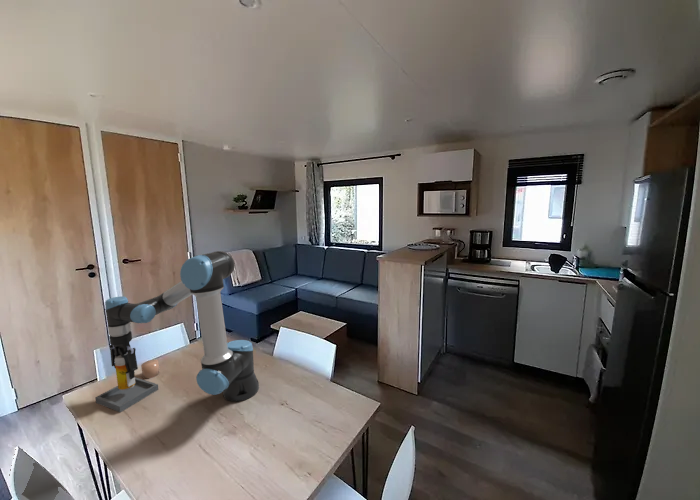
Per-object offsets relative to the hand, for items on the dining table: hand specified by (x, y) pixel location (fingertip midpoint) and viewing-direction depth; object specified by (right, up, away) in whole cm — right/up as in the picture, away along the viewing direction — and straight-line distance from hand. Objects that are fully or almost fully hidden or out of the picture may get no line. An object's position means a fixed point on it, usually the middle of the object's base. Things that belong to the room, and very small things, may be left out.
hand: (126, 383), depth 128 cm
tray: (0, -6, +1) cm, 6 cm away
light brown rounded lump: (-1, -4, +17) cm, 18 cm away
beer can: (0, -2, 0) cm, 2 cm away
